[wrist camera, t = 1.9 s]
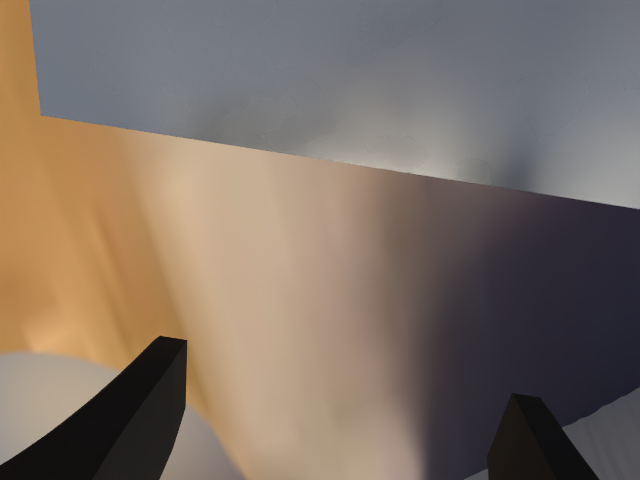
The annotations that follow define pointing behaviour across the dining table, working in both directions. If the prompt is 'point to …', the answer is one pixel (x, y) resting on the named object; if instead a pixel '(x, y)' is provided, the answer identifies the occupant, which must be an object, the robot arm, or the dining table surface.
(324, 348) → the dining table surface
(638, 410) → the decorative block
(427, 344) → the dining table surface
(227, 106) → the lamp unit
